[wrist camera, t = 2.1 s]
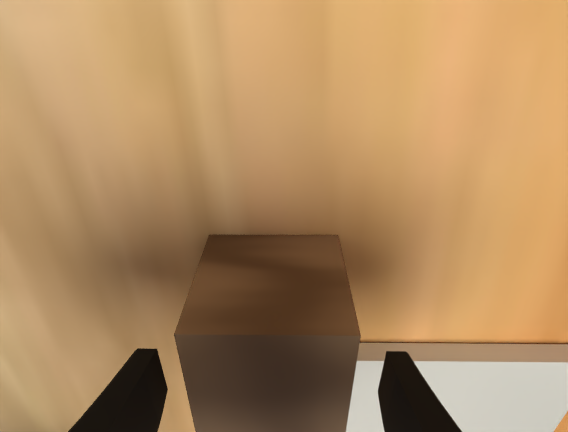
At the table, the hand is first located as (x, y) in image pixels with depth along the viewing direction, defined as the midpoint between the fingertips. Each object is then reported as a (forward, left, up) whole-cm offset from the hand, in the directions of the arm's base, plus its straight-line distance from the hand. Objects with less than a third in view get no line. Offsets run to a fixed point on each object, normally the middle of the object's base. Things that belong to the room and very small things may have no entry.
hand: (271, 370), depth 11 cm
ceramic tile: (+9, -9, -4) cm, 13 cm away
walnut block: (0, 0, -4) cm, 4 cm away
